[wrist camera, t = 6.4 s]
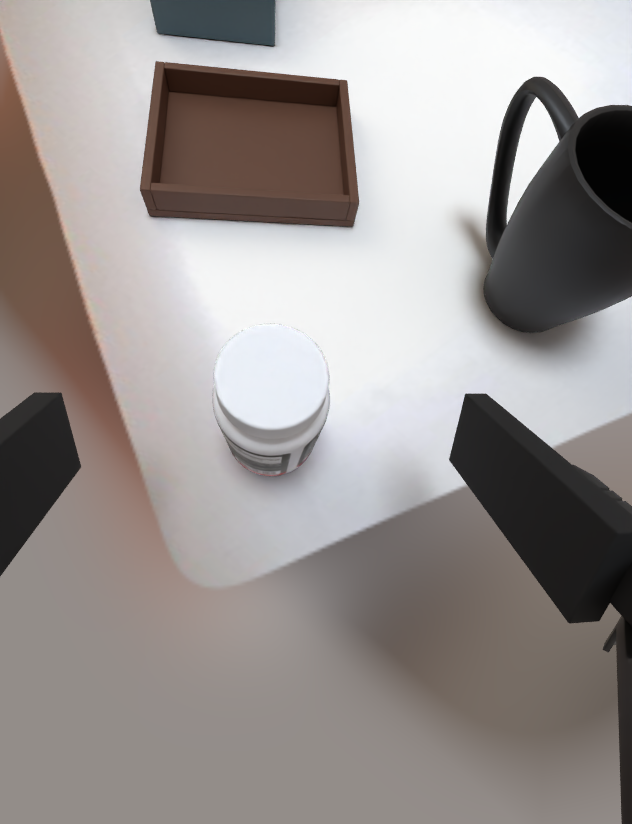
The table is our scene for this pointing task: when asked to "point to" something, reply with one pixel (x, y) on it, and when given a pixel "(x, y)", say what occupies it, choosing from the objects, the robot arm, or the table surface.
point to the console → (217, 19)
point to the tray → (249, 147)
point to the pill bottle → (271, 397)
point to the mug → (562, 216)
